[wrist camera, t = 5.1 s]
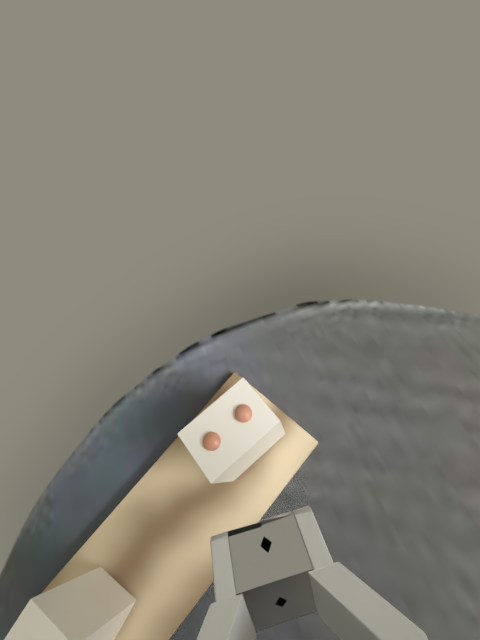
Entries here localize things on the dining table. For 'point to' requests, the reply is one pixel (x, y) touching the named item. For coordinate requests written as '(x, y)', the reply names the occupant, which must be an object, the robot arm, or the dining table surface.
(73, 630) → the tile one
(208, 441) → the tile two
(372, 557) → the dining table surface
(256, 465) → the digit board
